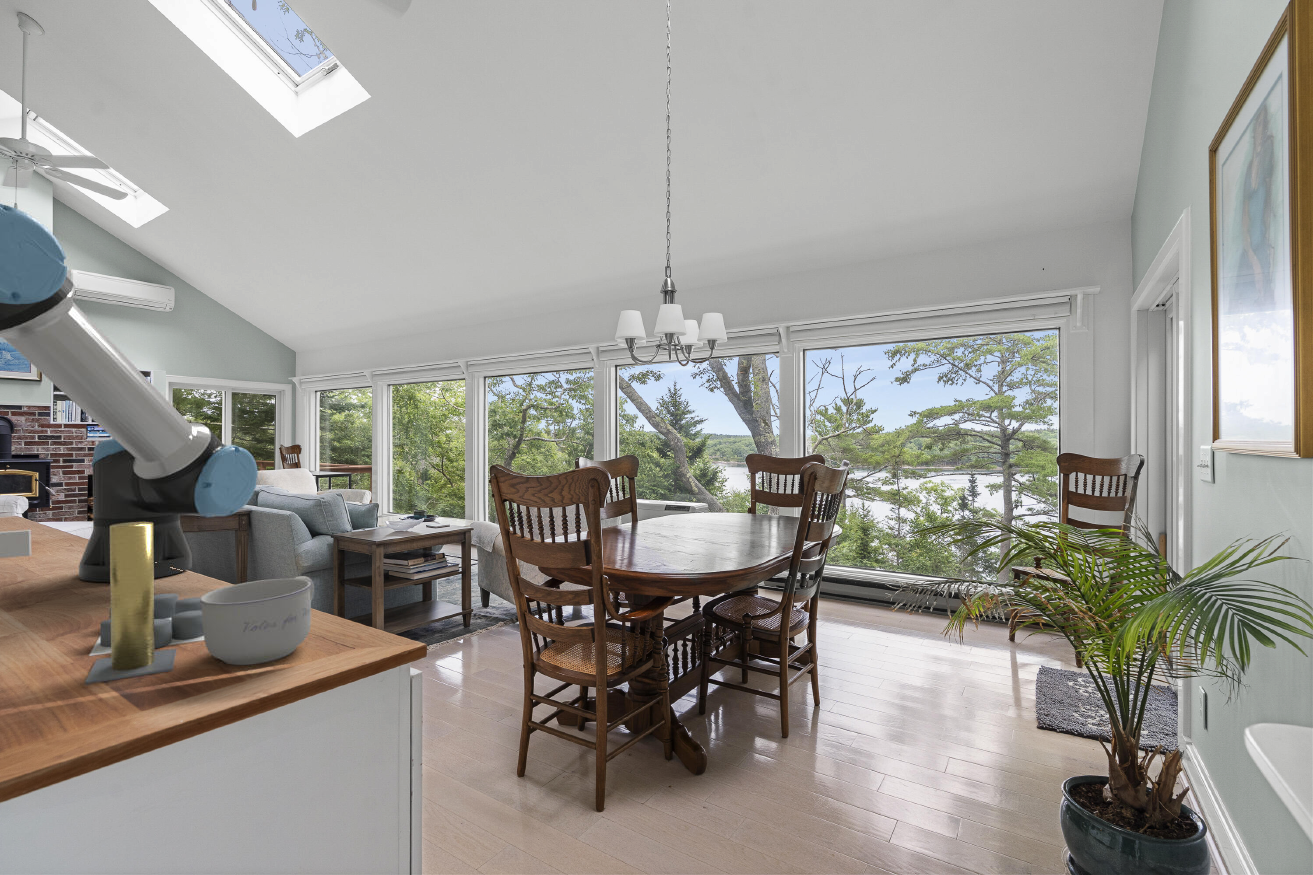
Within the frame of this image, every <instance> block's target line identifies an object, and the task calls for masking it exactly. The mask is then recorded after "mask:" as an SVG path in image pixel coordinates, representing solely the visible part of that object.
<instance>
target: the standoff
mask: <svg viewBox="0 0 1313 875" xmlns="http://www.w3.org/2000/svg"><path fill="white" fill-rule="evenodd" d="M154 581H155V578H154V553H153V523H152V522H129V523H120V524H115V525H111V526H110V582H109V583H110V587H109V588H110V607H111V653H110V655H111V657H110V658H111V668H112V669H113V670H131V669H136V668H141V667H144V666H147V665H149V664H151V663H153V662H154V651H155V649H154V595H155V583H154Z"/></svg>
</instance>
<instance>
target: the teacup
mask: <svg viewBox="0 0 1313 875" xmlns="http://www.w3.org/2000/svg"><path fill="white" fill-rule="evenodd" d="M314 594H315V586H314V583H313V580H312V579H311V578H310V577H308V576H306V575H305V576H304V575H303V576H302V575H301V576H296V577H294V578H271V579H261V580H254V581H247V582H243V583H237V584H233V585H227V586H223V587H220V588H217V589H214V590H210V591H209V592H206V593H205V594H203V595H202V596H200V597H201V598H200V603H201V604H202V618H203V631H204V639H205V640H204V643H205V644H204V645H205V647H206V649H207V651H208V652H209V654H210V655H211V656H213V657H215V658H216V659H219V660H221V661H223V662H224V663H226V664H228V665H229V664H230V665H233V666H235V665H236V666H246V665H258V664H264V663H269V662H274V661H277V660H279V659H282V658H285V657H287V656H289V655H291V654H292V653H293V652H294V651H295V650H296V649H297V647H298V646H300V645H301V644H302V643H303V642H304V641H305V639H306V638H307V637H308V635H309V633H310V629H311V625H312V624H311V621H312V608H311V606H312V604H311V602H312V601H313V598H314Z"/></svg>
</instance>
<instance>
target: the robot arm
mask: <svg viewBox="0 0 1313 875" xmlns="http://www.w3.org/2000/svg"><path fill="white" fill-rule="evenodd" d="M66 259H67V257H66V254H65V251H64V249H63V247H62V245H61V243H60V242H59V240H58V239H57V237H56V236H55V234H53V232H52V231H50V230H49V228H48V227H46V226H45V225H44V224H43V223H41V221H39V220H37V219H36V218H35V217H33V216H32V215H30V214H28V213H27V212H25V211H22V210H20V209H18V208H15V207H14V206H13V207H12V206H10V205H6V204H3V203H0V338H2V339H4V340H5V341H6V342H7V343H8V344H9V345H10V346H11V347H13V348H14V349H15V350H16V351H17V352H19V354H20V355H21V356H23V357H24V358H25V360H27V361H28V362H29V363H30V364H31V365H33V367H35V368H36V369H37V371H39V372H40V373H41V374H42V375H44V377H45V378H47V379H48V380H49V381H50V383H52V384H54V386H55V387H56V388H58V390H60V391H61V392H62V393H63V394H64V395H65V396H67V397H68V399H70V400H71V401H72V402H73V403H74V404H75V405H76V406H78V408H80V409H81V411H83V412H84V413H85V414H87V415H88V416H89V418H91V419H92V420H93V421H94V422H95V423H96V424H98V425H99V427H101V428H102V429H103V430H104V431H105V432H106V433H107V434H108V435H110V436H111V437H112V438H109V439H104V440H101V441H99V442H98V443H97V444H96V445H95V446H94V449H93V455H92V462H91V467H92V518H93V519H92V521H93V522H92V532H91V535H90V537H89V540H88V542H87V544H86V547H85V550H84V552H83V554H82V557H81V559H80V562H79V566H78V578H79V579H80V580H81V581H84V582H95V583H110V526H111V525H115V524H120V523H129V522H152V523H153V553H154V579H155V578H163V577H169V576H172V575H176V574H179V573H183V572H186V571H188V570H190V569H191V568H192V566H193V556H192V552H191V549H190V546H189V544H188V542H187V539H186V537H185V534H184V532H183V530H182V527H181V520H180V519H181V515H187V516H196V517H197V516H199V517H205V518H214V517H227V516H230V515H231V516H232V515H234V514H235V513H237V512H239V511H241V510H242V509H243V508H244V507H245V506H246V505H247V504H248V502H249V501H250V500H251V498H252V497H253V494H254V493H255V491H256V488H257V483H258V481H257V479H258V475H259V473H258V472H259V471H258V466H257V462H256V460H255V458H254V456H253V455H252V454H251V452H249V451H248V450H247V449H245V448H243V447H240V446H238V445H233V444H228V445H226V444H224V443H223V442H222V441H221V440H220V439H219V438H218V436H217V435H215V434H214V433H213V431H212V430H211V429H210V428H209V427H208V426H206V425H204V423H203V424H202V423H199V422H189V421H188V420H186V419H185V417H184V416H183V415H182V413H180V412H179V411H178V410H177V409H176V408H175V407H174V406H173V405H172V404H171V403H170V402H169V400H167V399H166V397H164V395H163V394H162V393H161V392H160V391H159V390H158V389H157V388H156V387H155V386H154V385H153V384H152V383H151V382H150V380H148V379H147V378H146V377H145V376H144V374H143V373H142V372H141V371H140V370H139V369H138V368H137V367H136V366H135V365H134V364H133V363H132V362H131V361H130V360H129V359H128V357H126V356H125V354H124V353H123V352H121V350H120V349H119V348H118V347H117V346H116V345H115V344H114V342H112V341H111V339H109V338H108V337H107V336H106V334H104V332H103V331H102V330H101V329H100V328H99V327H98V326H97V325H96V324H95V323H94V322H93V321H92V320H91V319H90V318H89V317H88V316H87V315H86V313H84V312H83V311H82V309H81V308H79V306H78V305H77V304H76V303H75V302H74V295H75V290H76V285H75V284H74V282H73V281H72V280H71V279H70V278H69V276H67V274H68V266H67V265H66V264H65V260H66ZM31 555H32V530H31V529H24V530H23V529H22V530H9V531H7V530H6V531H0V559H5V558H19V557H30V556H31ZM155 562H157V563H155ZM170 567H173V568H176V569H172V568H170ZM177 569H180V570H183V571H180V570H177Z"/></svg>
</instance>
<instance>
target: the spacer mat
mask: <svg viewBox="0 0 1313 875" xmlns="http://www.w3.org/2000/svg"><path fill="white" fill-rule="evenodd" d="M201 597H202V596H195V597H188V598H183V599H179V594H178V593H159V594H158V593H157V594H154V650H155V649H160V648H163V647H166V646H167V647H168V646H175V645H181V644H189V643H196V642H203V641H204V642H205V639H204V631H203V618H202V604H201V603H200V598H201ZM99 625H100V628H99V629H100V635H99V637H98V639H97V641H96V642H95V644H94V646H93V647H92V649H91V651H90V653H89V654H88V657H93V656H100V655H108V654H111V606H110V607H109V619H108V618H107V619H105V620H103V621H101V622H100V624H99Z"/></svg>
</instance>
